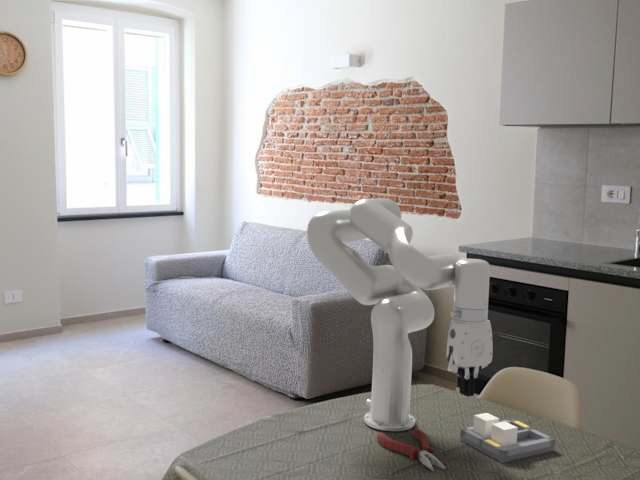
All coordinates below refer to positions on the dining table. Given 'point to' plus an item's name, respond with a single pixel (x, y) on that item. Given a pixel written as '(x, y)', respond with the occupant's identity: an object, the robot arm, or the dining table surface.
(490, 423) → the tab
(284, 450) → the dining table surface
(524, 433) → the switch bank
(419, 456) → the pliers
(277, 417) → the dining table surface
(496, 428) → the tab
